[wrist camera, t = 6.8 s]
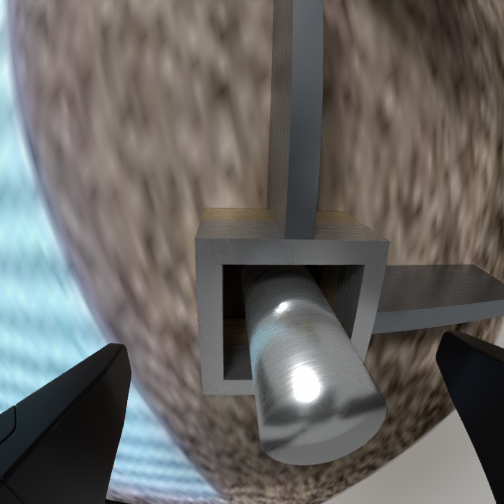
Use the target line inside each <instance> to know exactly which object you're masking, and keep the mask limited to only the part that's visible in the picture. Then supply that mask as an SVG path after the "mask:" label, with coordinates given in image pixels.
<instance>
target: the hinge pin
mask: <svg viewBox="0 0 504 504" xmlns="http://www.w3.org/2000/svg"><path fill="white" fill-rule="evenodd" d="M241 277H242V287H243V297H244V306H245V315H246V324H247V333H248V342H249V351H250V359H251V368H252V377H253V385H254V394H255V402H256V410H257V419H258V427H259V435H260V442H261V446H262V448H263V450H264V451H265V452H266V454H267V455H269V456H270V457H271V458H273V459H275V460H277V461H279V462H282V463H286V464H291V465H316V464H321V463H326V462H330V461H333V460H336V459H339V458H341V457H344V456H346V455H348V454H350V453H352V452H354V451H355V450H357V449H359V448H360V447H362V446H363V445H364V444H366V443H367V442H368V441H369V440H370V439H371V438H372V437H373V436H374V435H375V434H376V433H377V432H378V430H379V429H380V427H381V426H382V424H383V422H384V419H385V417H386V403H385V400H384V398H383V397H382V395H381V393H380V391H379V389H378V388H377V386H376V384H375V382H374V381H373V379H372V377H371V375H370V374H369V372H368V370H367V368H366V366H365V365H364V363H363V361H362V360H361V358H360V356H359V354H358V353H357V351H356V349H355V347H354V346H353V344H352V342H351V341H350V339H349V337H348V335H347V334H346V332H345V330H344V329H343V327H342V325H341V323H340V322H339V320H338V318H337V317H336V315H335V313H334V312H333V310H332V308H331V307H330V305H329V303H328V302H327V300H326V298H325V297H324V295H323V293H322V292H321V290H320V288H319V287H318V285H317V284H316V282H315V280H314V279H313V277H312V275H311V274H310V272H309V270H308V269H307V267H306V266H305V265H247V264H244V265H243V268H242V274H241Z"/></svg>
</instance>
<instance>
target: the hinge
mask: <svg viewBox="0 0 504 504" xmlns="http://www.w3.org/2000/svg"><path fill="white" fill-rule="evenodd" d="M322 105H323V0H274V12H273V50H272V83H271V113H270V140H269V166H268V190H267V209H235V208H205V211H204V214H203V217H202V220H201V223H200V225H199V228H198V231H197V234H196V237H195V260H196V289H197V312H198V331H199V347H200V362H201V376H202V388H203V395H255V394H254V385H253V377H252V368H251V359H250V351H249V342H248V333H247V324H246V318H224V264H247V265H322V269H321V278H320V286H319V288H320V290H321V292H322V293H323V295H324V297H325V298H326V300H327V302H328V303H329V305H330V307H331V308H332V310H333V312H334V313H335V315H336V317H337V318H338V320H339V322H340V323H341V325H342V327H343V329H344V330H345V332H346V334H347V335H348V337H349V339H350V341H351V342H352V344H353V346H354V347H355V349H356V351H357V353H358V354H359V356H360V358H361V360H362V361H363V363H364V360H365V357H366V353H367V349H368V345H369V341H370V338H371V334H378V333H388V332H398V331H407V330H415V329H423V328H431V327H438V326H445V325H452V324H459V323H465V322H471V321H477V320H483V319H488V318H494V317H499V316H504V283H502V282H500V281H499V280H497V279H496V278H494V277H493V276H491V275H490V274H488V273H486V272H485V271H483V270H482V269H480V268H478V267H477V266H475V265H409V266H386V262H387V256H388V250H389V244H390V241H388V240H387V239H385V238H384V237H382V236H381V235H379V234H378V233H376V232H375V231H373V230H372V229H370V228H369V227H367V226H366V225H364V224H362V223H361V222H359V221H358V220H356V219H355V218H353V217H351V216H350V215H348V214H347V213H345V212H337V211H317V200H318V186H319V171H320V153H321V132H322Z"/></svg>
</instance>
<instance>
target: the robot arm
mask: <svg viewBox="0 0 504 504" xmlns="http://www.w3.org/2000/svg"><path fill="white" fill-rule="evenodd" d="M436 362H437V364H438V367H439V369H440V372H441V374H442V377H443V379H444V382H445V384H446V387H447V389H448V392H449V394H450V397H451V399H452V401H453V403H454V406H455V408H456V410H457V412H458V414H459V416H460V418H461V420H462V422H463V424H464V426H465V429H466V431H467V433H468V435H469V437H470V439H471V442H472V444H473V446H474V448H475V451H476V453H477V455H478V458H479V460H480V462H481V465H482V467H483V470H484V472H485V474H486V477H487V480H488V482H489V485H490V487H491V490H492V493H493V495H494V498H495V501H496V504H504V348H501V347H499V346H496V345H493V344H491V343H488V342H486V341H483V340H481V339H478V338H475V337H473V336H470V335H468V334H465V333H463V332H460V331H457V330H452V331H447V332H445V333H444V334H443V336H442V339H441V342H440V344H439V347H438V350H437V353H436ZM130 382H131V366H130V362H129V357H128V352H127V348H126V346H125V345H124V344H116V343H110V344H108V345H106V346H105V347H103V348H102V349H100V350H99V351H97V352H95V353H94V354H92V355H91V356H89V357H88V358H86V359H85V360H83V361H82V362H80V363H78V364H77V365H75V366H74V367H72V368H71V369H69V370H68V371H66V372H65V373H63V374H62V375H60V376H58V377H57V378H55V379H54V380H52V381H51V382H49V383H48V384H46V385H45V386H43V387H42V388H40V389H38V390H37V391H35V392H34V393H32V394H31V395H29V396H28V397H26V398H25V399H23V400H21V401H20V402H18V403H17V404H16V406H15V405H14V406H12V407H11V408H9V409H8V410H6V411H4V412H3V413H1V414H0V504H122V503H117V502H112V501H107V500H105V499H106V494H107V490H108V485H109V481H110V477H111V473H112V469H113V465H114V461H115V457H116V453H117V449H118V445H119V441H120V438H121V434H122V430H123V426H124V420H125V414H126V407H127V400H128V394H129V388H130Z"/></svg>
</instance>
